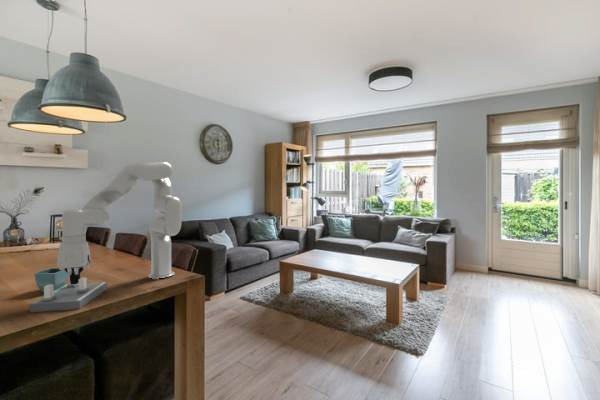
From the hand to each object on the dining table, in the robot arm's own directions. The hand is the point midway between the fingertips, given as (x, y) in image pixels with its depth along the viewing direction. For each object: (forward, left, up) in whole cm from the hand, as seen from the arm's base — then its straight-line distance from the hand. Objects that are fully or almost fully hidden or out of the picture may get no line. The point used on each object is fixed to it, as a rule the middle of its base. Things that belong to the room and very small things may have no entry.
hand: (75, 283), depth 117 cm
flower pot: (-14, -16, -7) cm, 22 cm away
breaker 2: (-8, -5, -3) cm, 10 cm away
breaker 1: (+8, -5, -3) cm, 10 cm away
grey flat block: (0, -1, -6) cm, 7 cm away
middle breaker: (0, +3, -3) cm, 4 cm away
